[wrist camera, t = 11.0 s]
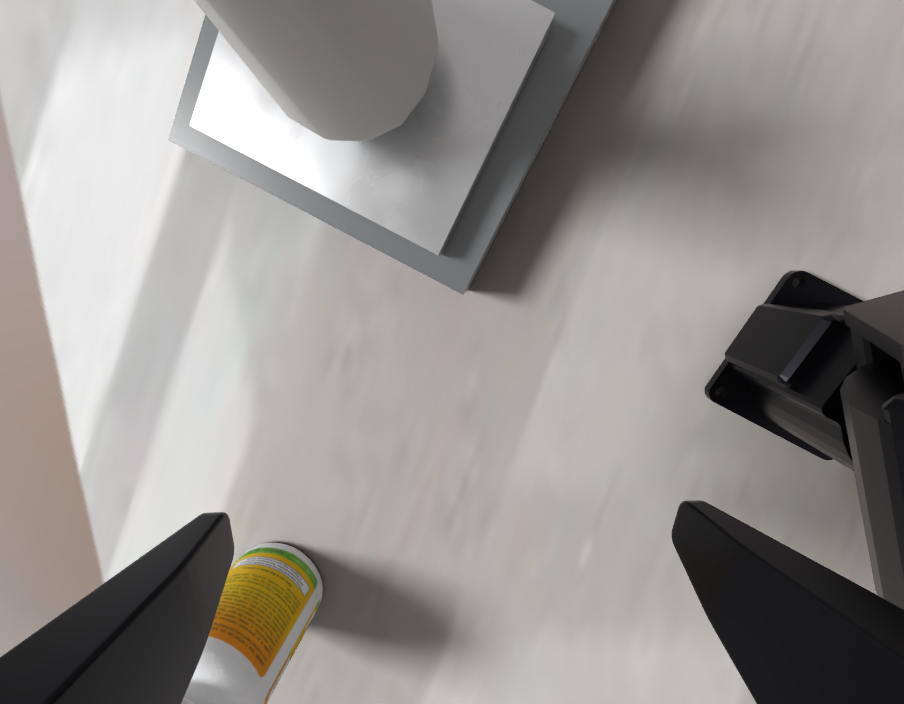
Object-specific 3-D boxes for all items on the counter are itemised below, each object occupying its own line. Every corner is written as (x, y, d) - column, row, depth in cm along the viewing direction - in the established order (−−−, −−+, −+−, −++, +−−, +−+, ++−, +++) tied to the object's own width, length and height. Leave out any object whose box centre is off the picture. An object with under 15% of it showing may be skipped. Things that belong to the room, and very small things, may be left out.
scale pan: (552, 25, 15) (555, 12, 14) (441, 255, 17) (438, 255, 17) (281, -115, 15) (269, -135, 15) (203, 131, 18) (189, 125, 17)
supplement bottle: (231, 537, 25) (63, 706, 15) (319, 540, 24) (200, 720, 15) (245, 616, 26) (96, 819, 16) (330, 621, 25) (224, 837, 16)
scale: (630, -27, 17) (655, -84, 14) (468, 290, 20) (462, 295, 17) (318, -186, 17) (281, -275, 14) (208, 154, 20) (160, 137, 18)
